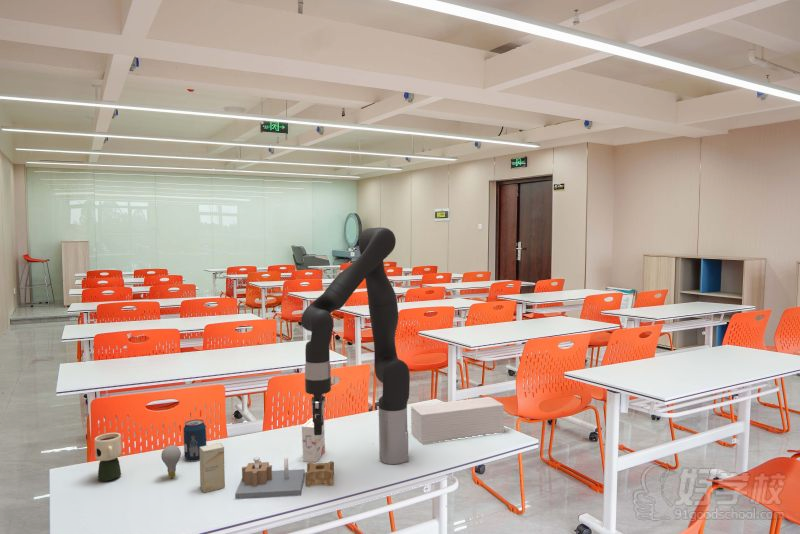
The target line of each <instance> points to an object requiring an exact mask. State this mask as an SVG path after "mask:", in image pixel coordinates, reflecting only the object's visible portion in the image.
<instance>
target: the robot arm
mask: <svg viewBox="0 0 800 534" xmlns="http://www.w3.org/2000/svg"><path fill="white" fill-rule="evenodd" d="M395 247H396V236H395V234H394V232H393V231H392V230H391V229H389V228H388V227H368V228H365V229H364V230H362V232H361V233H360V234H359V237H358V249H359V254H360V255H359V256H358V257H357V259H355V260H354V261H353V262H352V263H351V264H349V266H347V267H345V269H343V270H342V271H341V272H339V274H338V275H337V276H336V277H334V278H333V280H332V281H331V282H330V284H329V285H328V287H326V289H325V290H324V291H323V293H322V294H321V295H320V296H318V297H316V299H314V301H312V302H311V303H310V304H309V305H308V306H307V307H306V308H305V309H304V311H303V312H302V315H301V317H300V322H301V326H302V328H304V329H305V330H306V331H308V332H311V335H310V336H311V337H310V340H309V341H307V342H306V344H305V348H304V349H305V351H304V352H305V356H304V357H305V364H304V387H305V388H304V390H305V393H306V394H308V395H312V397H311V399H310V400H311V401H310V403H311V414H312V418H313V420H312V421H313V423H314V435H321V434H322V425H323V415H324V414H325V407H326V396H324V395H326V394H327V393H330V392H331V391H332V382H331V381H332V378H331V377H332V375H331V372H332V371H331V363H330V358H331V357H330V345H331V340H332V338H333V337H332V336H333V330H334V320H333V316H332V313H333V312H334V311H337V310H340V309H341V308H343V306H344V305H345V304H346V303H347V302H348V300H349V299H350V297H351V296H352V294H354V293H355V291H356V290H357V288H358V287H360V285H361V284H362V283H363V281H364V280H365V285H366V287H365V288H366V293H367V303H368V313H369V319H370V325H371V332H372V333H371V334H372V339H373V349H374V351H373V354H374V357H373V358H374V359H373V360H374V363H373V364H374V374H375V376H376V378H377V379H378V381H379V382H380V383H382V396H380V397H379V398H378V443H379V445H378V448H379V449H378V450H379V452H378V453H379V455H378V456H379V457H378V458H379V461H380V462H382V463H384V464H388V465H398V464H399V465H400V464H403V463H405V462H406V463H407V462H410V461H409V459H410V458H409V455H410V453H409V430H408V401H409V398H410V387H411V386H410V383H411V381H410V380H411V378H410V377H411V376H410V374H411V373H410V369H409V366H408V364H407V363H406V362H405V361H404V360H401V359H399V357H398V354H397V348H396V347H397V346H396V333H397V332H396V331H397V328H398V323H399V308H398V307H399V306H398V299H397V294H396V292H395V289H394V288H393V285H392V283H391V282H390V281H391V280H389V278H388V275H387V272H386V270H385V264H384V260H385V259H386V258H387V257H388V256H389V255H391V254H392V253H393V251H394V249H395ZM315 416H316V418H315Z"/></svg>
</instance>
